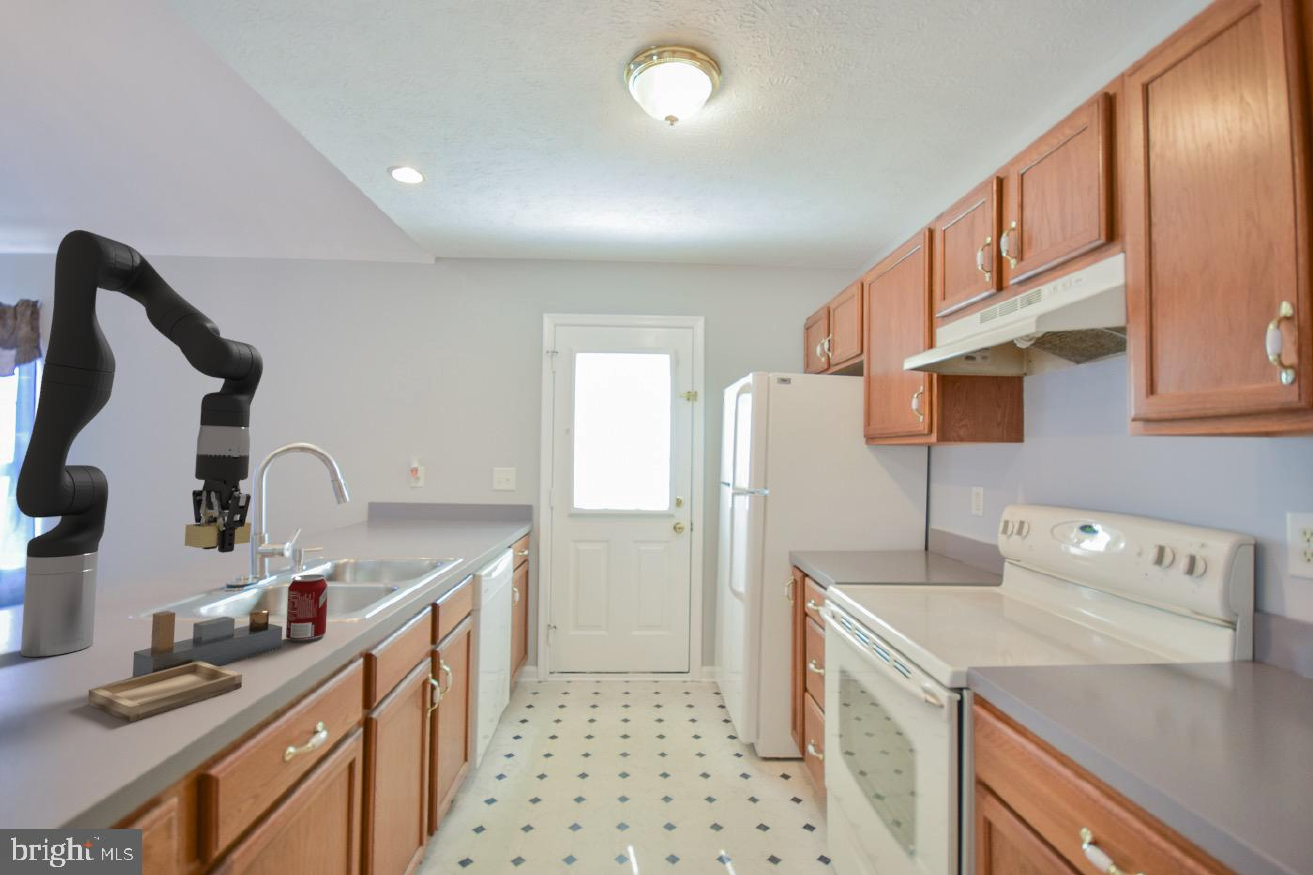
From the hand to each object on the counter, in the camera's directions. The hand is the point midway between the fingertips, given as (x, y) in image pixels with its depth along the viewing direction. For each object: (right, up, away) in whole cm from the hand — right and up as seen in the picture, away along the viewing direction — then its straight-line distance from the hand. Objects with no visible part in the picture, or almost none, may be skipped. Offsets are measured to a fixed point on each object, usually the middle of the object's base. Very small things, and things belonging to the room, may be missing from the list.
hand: (217, 549), depth 103 cm
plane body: (0, -19, -1) cm, 19 cm away
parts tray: (+4, -19, -15) cm, 24 cm away
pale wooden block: (0, +1, 0) cm, 1 cm away
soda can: (+8, -20, +13) cm, 25 cm away
